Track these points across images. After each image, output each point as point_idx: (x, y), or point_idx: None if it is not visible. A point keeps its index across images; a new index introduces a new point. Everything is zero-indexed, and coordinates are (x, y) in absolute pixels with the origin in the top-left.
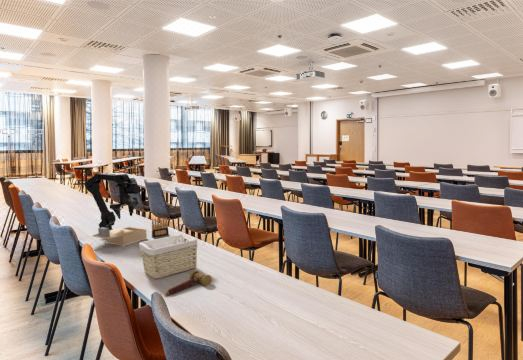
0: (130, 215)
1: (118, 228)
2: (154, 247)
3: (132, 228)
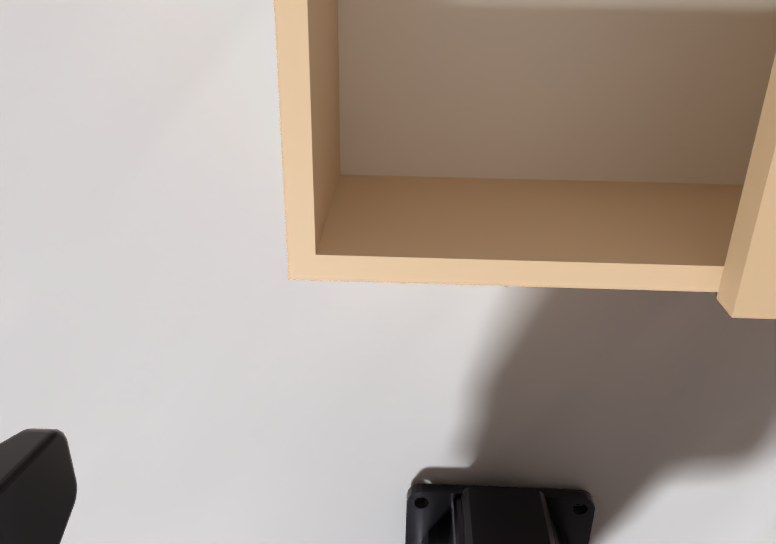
0: (60, 501)
1: (751, 265)
2: None
3: (312, 77)
